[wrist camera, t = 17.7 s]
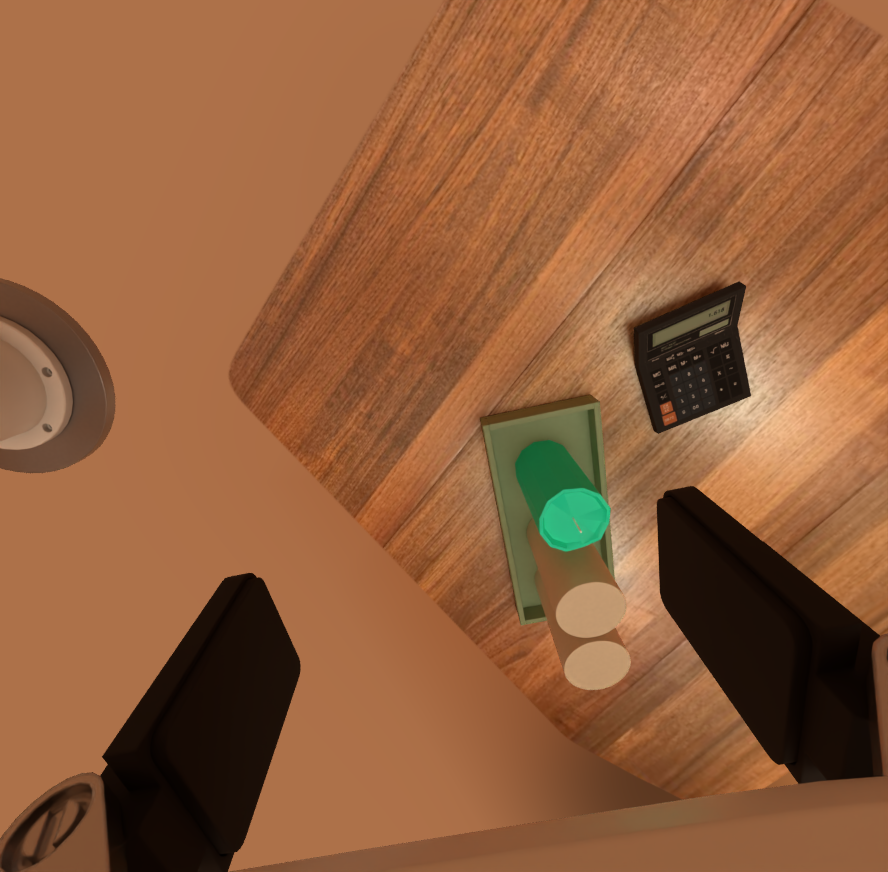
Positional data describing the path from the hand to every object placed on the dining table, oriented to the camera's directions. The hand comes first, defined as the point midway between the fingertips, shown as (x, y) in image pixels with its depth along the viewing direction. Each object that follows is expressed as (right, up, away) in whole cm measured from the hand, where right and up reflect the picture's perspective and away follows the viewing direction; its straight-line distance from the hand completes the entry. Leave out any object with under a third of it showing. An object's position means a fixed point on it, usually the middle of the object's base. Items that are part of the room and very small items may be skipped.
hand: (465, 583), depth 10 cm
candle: (+10, 0, +34) cm, 36 cm away
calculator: (+23, +11, +31) cm, 40 cm away
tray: (+11, -5, +37) cm, 39 cm away
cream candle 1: (+12, -7, +37) cm, 39 cm away
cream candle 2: (+13, -13, +39) cm, 43 cm away
